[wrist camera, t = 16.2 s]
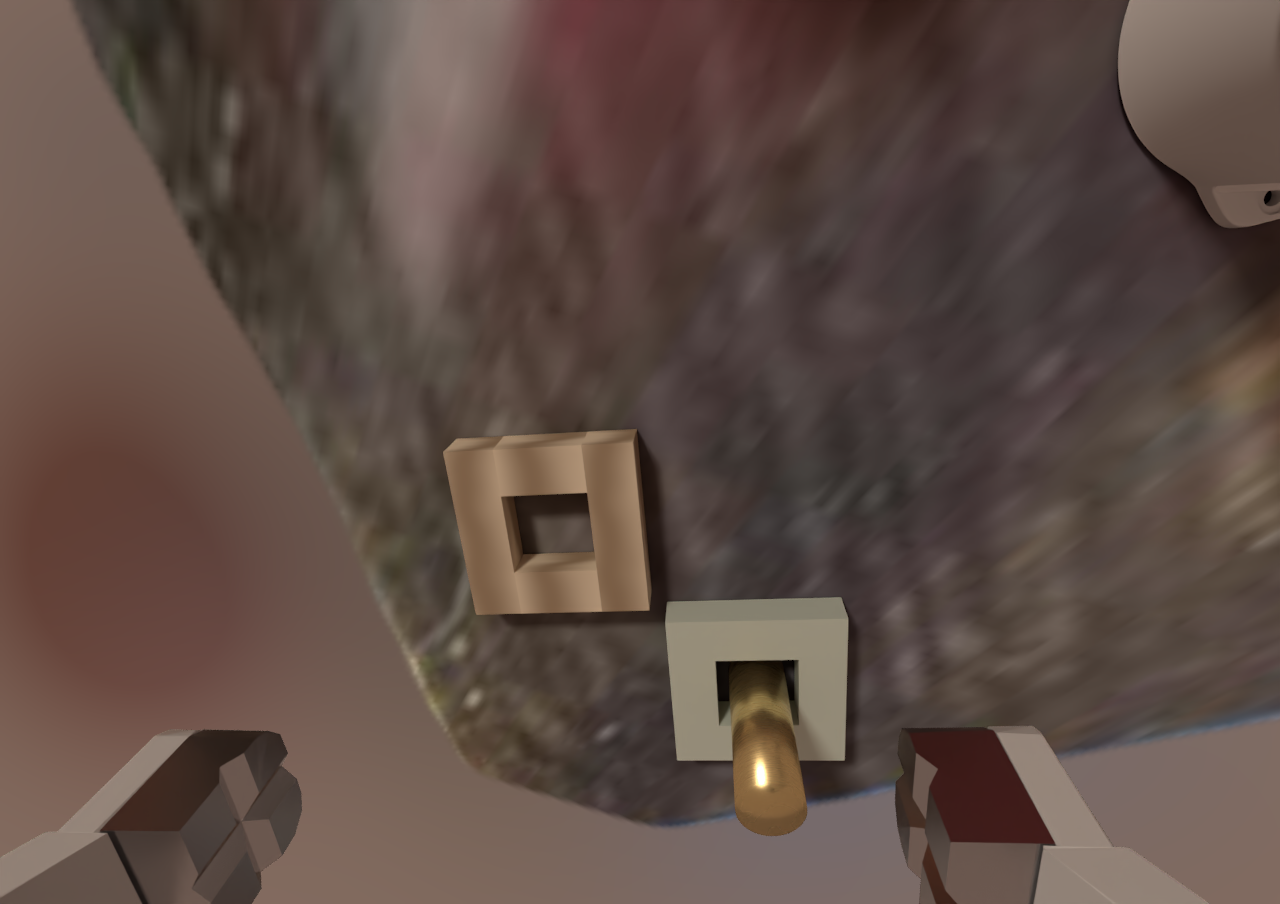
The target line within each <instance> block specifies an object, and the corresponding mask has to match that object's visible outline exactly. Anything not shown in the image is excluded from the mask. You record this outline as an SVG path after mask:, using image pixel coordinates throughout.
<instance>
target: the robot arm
mask: <svg viewBox="0 0 1280 904" xmlns="http://www.w3.org/2000/svg"><path fill="white" fill-rule="evenodd" d="M1118 78H1119V87H1120V93H1121V98H1122V102H1123V105H1124V109H1125V111H1126V114H1127V117H1128V119H1129V121H1130V124H1131V126H1132V128H1133V129H1134V131H1135V133H1136V135H1137V136H1138V138H1139V139H1140V140H1141V142H1142V143H1143V144H1144V146H1145V147H1146V148H1147V149H1148V150H1149V151H1150V152H1151V153H1152V154H1153V155H1154V156H1155V157H1156V158H1157V159H1158V160H1160V161H1161V162H1162V163H1164V164H1165V165H1167V166H1168V167H1170V168H1171V169H1173V170H1174V171H1176V172H1177V173H1179V174H1181V175H1182V176H1184V177H1185V178H1186V179H1187V180H1189V181H1190V182H1191V183H1192V184H1193V185H1194V186H1195V187H1196V190H1197V192H1198V194H1199V196H1200V198H1201V200H1202V202H1203V204H1204V206H1205V208H1206V210H1207V211H1208V213H1209V215H1210V216H1211V217H1212V219H1213V220H1214V221H1215V222H1216V223H1217V224H1219V225H1220V226H1222V227H1225V228H1240V227H1249V226H1254V225H1258V224H1262V223H1265V222H1269V221H1273V220H1277V219H1280V0H1130V1H1129V4H1128V7H1127V11H1126V14H1125V17H1124V22H1123V26H1122V30H1121V36H1120V43H1119V52H1118ZM1268 191H1271V193H1272V196H1271V199H1270V201H1269V202H1268V203H1267V204H1265V203H1264V197H1265V195H1266V193H1267V192H1268ZM287 754H288V752H287V750H286V747H285V745H284V743H283V740H282V738H281V735H280V734H277V733H274V732H270V731H242V730H168V731H166V732H163V733H161V734H159V735H156V736H154V737H153V738H152V739H151V741H149V742H148V743H147V744H146V745H145V747H143V748H142V749H141V750H140V751H139V752H138V753H137V754H136V755H135V756H134V757H133V758H132V759H131V760H130V761H129V762H128V763H127V764H126V765H125V766H124V767H123V768H122V769H121V770H120V771H119V772H118V773H117V774H116V775H115V776H114V777H113V778H112V779H111V780H110V781H109V782H108V783H107V784H106V785H105V786H104V787H102V789H100V790H99V792H97V793H96V794H95V795H94V796H93V797H92V798H91V799H90V800H89V801H88V802H87V803H86V804H85V805H84V806H83V807H82V808H81V809H80V810H79V811H78V812H77V813H76V814H75V815H74V816H73V817H72V818H71V819H70V820H69V821H68V822H67V823H66V824H65V825H64V826H63V827H62V828H61V829H60V830H59V831H58V832H45V833H43V834H41V835H40V836H38V837H36V838H34V839H32V840H31V841H29V842H27V843H25V844H23V845H22V846H20V847H18V848H16V849H14V850H13V851H11V852H9V853H7V854H5V855H4V856H2V857H0V904H252V903H253V901H254V899H255V898H256V896H257V895H258V893H259V892H260V890H261V871H263V870H264V869H265V868H267V867H268V866H269V865H271V864H272V863H273V862H275V861H276V860H277V859H279V858H280V857H281V856H282V855H283V854H284V852H285V850H286V849H287V847H288V845H289V844H290V842H291V840H292V839H293V837H294V835H295V833H296V829H297V826H298V822H299V819H300V815H301V811H302V800H301V791H300V787H299V784H298V781H297V779H296V778H295V777H294V776H293V775H292V774H291V773H289V772H288V771H287V770H286V769H285V768H284V767H282V764H283V762H284V760H285V758H286V756H287ZM898 756H899V759H900V762H901V765H902V768H903V771H904V774H903V775H902V776H901V777H900V778H899V779H898V780H897V781H896V792H895V806H896V816H897V827H898V831H899V836H900V841H901V845H902V849H903V852H904V856H905V859H906V863H907V866H908V868H910V870H912V871H913V872H914V873H915V874H916V875H917V876H918V877H919V878H920V879H921V885H920V899H919V904H1210V903H1209V902H1207V901H1206V900H1204V899H1203V898H1201V897H1200V896H1198V895H1197V894H1196V893H1194V892H1193V891H1191V890H1190V889H1188V888H1187V887H1185V886H1184V885H1183V884H1181V883H1180V882H1178V881H1177V880H1175V879H1174V878H1173V877H1171V876H1170V875H1168V874H1167V873H1165V872H1164V871H1162V870H1161V869H1160V868H1158V867H1156V866H1155V865H1154V864H1152V863H1151V862H1149V861H1148V860H1146V859H1145V858H1144V857H1142V856H1141V855H1139V854H1137V853H1136V852H1135V851H1134V850H1132V849H1131V848H1125V847H1124V848H1123V847H1114V846H1113V844H1112V843H1111V841H1110V840H1109V838H1108V836H1107V835H1106V833H1105V832H1104V830H1103V829H1102V827H1101V826H1100V824H1099V822H1098V821H1097V819H1096V818H1095V816H1094V815H1093V813H1092V811H1091V810H1090V808H1089V807H1088V805H1087V804H1086V802H1085V801H1084V799H1083V797H1082V796H1081V794H1080V793H1079V791H1078V790H1077V788H1076V786H1075V785H1074V783H1073V782H1072V780H1071V779H1070V777H1069V776H1068V774H1067V773H1066V771H1065V769H1064V768H1063V766H1062V765H1061V763H1060V761H1059V760H1058V758H1057V757H1056V755H1055V754H1054V752H1053V750H1052V749H1051V747H1050V746H1049V744H1048V743H1047V741H1046V740H1045V738H1044V736H1043V735H1042V733H1041V732H1040V731H1039V730H1037V729H1036V728H1034V727H1033V726H999V727H988V728H984V727H958V728H902V729H901V732H900V735H899V741H898Z"/></svg>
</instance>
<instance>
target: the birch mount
mask: <svg viewBox="0 0 1280 904" xmlns="http://www.w3.org/2000/svg"><path fill="white" fill-rule="evenodd" d="M443 454H444V459H445V464H446V469H447V474H448V478H449V483H450V488H451V493H452V498H453V503H454V508H455V513H456V518H457V523H458V528H459V533H460V538H461V543H462V547H463V552H464V557H465V562H466V567H467V572H468V577H469V582H470V587H471V592H472V597H473V602H474V607H475V612H476V615H484V614H525V613H566V612H607V611H648V610H649V608H650V601H651V593H652V586H651V576H650V565H649V554H648V544H647V533H646V522H645V512H644V501H643V490H642V480H641V469H640V458H639V448H638V437H637V429H627V430H608V431H590V432H572V433H554V434H535V435H517V436H499V437H480V438H462V439H456V440H455V441H454V442H453V443H452V444H451V445H450V446H449V447H448V448H447V449H446V450H445V451H444V452H443ZM570 493H587V495H588V503H589V511H590V519H591V527H592V535H593V543H594V551H595V552H573V553H544V554H523V549H522V543H521V537H520V531H519V525H518V519H517V513H516V507H515V501H514V496H525V495H548V494H570Z"/></svg>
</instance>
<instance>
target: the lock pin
mask: <svg viewBox="0 0 1280 904" xmlns="http://www.w3.org/2000/svg"><path fill="white" fill-rule="evenodd" d="M728 675H729V695H730V715H731V735H732V754H733V774H734V794H735V811H736V815H737V818H738V820H739V821H740V823H741V824H742V825H743V826H744V827H746V828H747V829H749V830H750V831H752V832H754V833H757V834H761V835H766V836H779V835H784V834H787V833H790V832H792V831H794V830H796V829H797V828H798V827H799V826H801V825H802V823H803V821H805V818H806V816H807V804H806V798H805V792H804V786H803V780H802V774H801V768H800V762H799V756H798V750H797V744H796V738H795V732H794V726H793V720H792V714H791V708H790V702H789V696H788V690H787V684H786V678H785V672H784V667H783V663H782V661H781V660H757V661H730V663H729V667H728Z"/></svg>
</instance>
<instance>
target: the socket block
mask: <svg viewBox="0 0 1280 904" xmlns="http://www.w3.org/2000/svg"><path fill="white" fill-rule="evenodd" d="M665 626H666V637H667V649H668V660H669V672H670V683H671V694H672V706H673V717H674V729H675V740H676V752H677V760H733V754H732V735H731V715H730V701H718V688H717V670H716V661H757V660H794V696H795V701H789V702H790V708H791V714H792V720H793V726H794V732H795V738H796V744H797V750H798V756H799V760H818V761H845V732H846V693H847V654H848V616H847V613H846V610H845V607H844V604H843V601H842V598H841V597H833V598H794V599H755V600H716V601H678V602H667V608H666V620H665Z"/></svg>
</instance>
